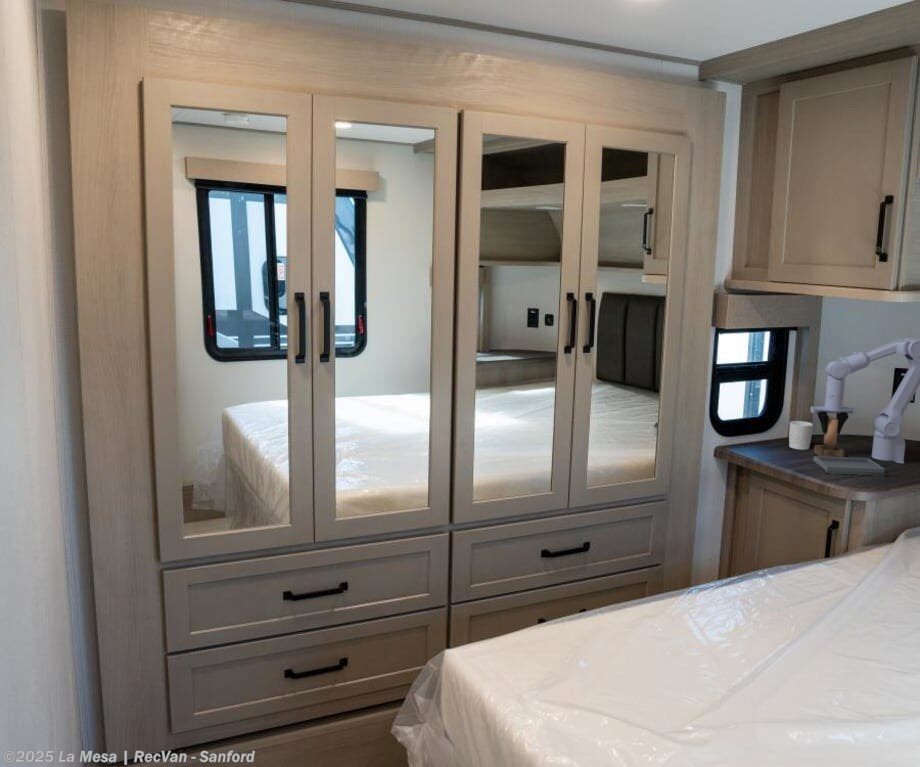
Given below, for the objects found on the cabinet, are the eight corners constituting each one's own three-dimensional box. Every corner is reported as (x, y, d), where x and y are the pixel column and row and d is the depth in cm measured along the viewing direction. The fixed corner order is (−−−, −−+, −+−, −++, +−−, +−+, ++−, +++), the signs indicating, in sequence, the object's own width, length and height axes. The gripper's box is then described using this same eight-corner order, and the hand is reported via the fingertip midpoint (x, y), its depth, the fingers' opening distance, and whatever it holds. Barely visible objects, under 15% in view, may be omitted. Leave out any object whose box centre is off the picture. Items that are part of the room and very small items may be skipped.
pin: (833, 442, 273) (836, 417, 271) (837, 445, 269) (840, 420, 268) (822, 442, 273) (824, 417, 272) (826, 444, 270) (828, 419, 268)
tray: (867, 465, 263) (868, 458, 262) (884, 476, 250) (884, 469, 250) (813, 463, 265) (813, 456, 264) (826, 474, 252) (827, 466, 252)
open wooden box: (835, 455, 276) (836, 445, 275) (843, 460, 268) (844, 451, 267) (813, 454, 276) (814, 445, 276) (821, 460, 269) (822, 450, 268)
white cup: (812, 453, 278) (815, 426, 276) (789, 451, 280) (792, 425, 278) (807, 447, 286) (810, 421, 284) (785, 446, 287) (787, 420, 286)
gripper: (851, 393, 271) (848, 431, 274) (809, 392, 273) (805, 429, 275) (859, 397, 264) (855, 435, 267) (815, 396, 266) (812, 434, 268)
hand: (830, 433), depth 271 cm, fingers closed on pin, 4 cm apart
